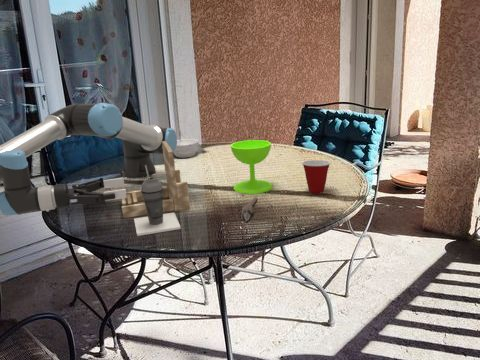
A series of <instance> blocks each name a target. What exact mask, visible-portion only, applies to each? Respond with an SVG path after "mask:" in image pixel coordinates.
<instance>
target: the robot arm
mask: <svg viewBox="0 0 480 360" xmlns="http://www.w3.org/2000/svg"><path fill="white" fill-rule="evenodd" d="M122 115H123V114H122V113H121V111H120V109H119V108H118V107H117V106H116V105H114V104H113V103H111V104H110V103H108V102H107V103H106V102H100V103H72V104H70V105H67V106H65V107H63V108H60V109H58V110H56V111H54V112H52V113H50V114H48V115H47V116H45V118H44V120H43V121H42V122H40V123H38V124H37V125H35V126H33V127H31V128H29V129H28V130H26V131H23V132H22V133H21V134H18V135H17V136H14V137H12V139H10V140H8V141H6V142H4V143H2V144H0V182H2V184H3V188H4V190H3V191H1V192H0V212H1V214H2V215H4V216H7V217H8V216H16V215H17V216H19V215H25V214H30V213H37V212H44V211H46V212H47V213H48V212H50V211H51V210H56V208H57V209H59V210H60V209H65V208H69V207H70V206H74V205H105V204H106V202H107V201H115V200H121V199H123V198H127V196H126V192H127V191H126V190H127V189H126V188H123V189H116V190H108V191H103V192H95V191H98V190H102V189H103V188H104V189H111V188H119V187H124V186H125V179H124V178H125V177H127V178H126V179H142V178H148V176H147V172H146V168H145V165H146V166H147V170H148V174H149V177H150V176H154V175H155V174H156V173H157V172H156V167H155V164H154V162H153V160H152V158H151V155H150V154H153V155H154V154H158V155H163V148H162V141H166V142H167V144H168V145H169V146H170V148H171V149H172V151H173V152H174V151H175V149H176V145H177V140H178V136H177V132H176V131H175V129H174V128H172V127H161V126H159V125H156V124H148V125H147V124H146V123H141V122H138V121H136V120H133V119H130V118H128V117H126V116H125V117H124V116H122ZM70 136H95V137H99V138H103V139H106V140H112V139H113V140H114V139H115V138H117V139H120V140H121V143H122V150H123V155H124V156H123V158H124V162H123V168H122V176H123V177H118V178H110V179H104V178H103V177H100V178H97V179H94V180H89V181H86V182H82V183H78V184H73V185H71V188H69V187H68V184H67V183H58V184H55V185H51V184H50V185H49V184H48V185H43V186H37V187H33V185H32V181H31V175H30V174H31V173H30V169H29V162H28V161H27V158H28V157H30V156H31V155H33V154H35V153H36V152H38V151H40V150H41V149H43V148H45V147H46V146H48V145H49V144H51V143H52V142H55V141H58V140H59V141H60V140H63V139H65V138H67V137H70Z"/></svg>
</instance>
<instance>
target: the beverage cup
mask: <svg viewBox="0 0 480 360" xmlns="http://www.w3.org/2000/svg"><path fill="white" fill-rule="evenodd" d="M145 168H146V172H147V176H148V177H147V178H146V179H145V180H144V181H142V183H141V187H140V190H141V192H142V196H143V198H144V201H143V203H145V206H146V211H147V215H146V216H147V217H148V220H149V223H150V224H151V225H158V224H161V223H163V214H164V212H163V200H164V198H162V195H163V187H164V186H163V184H162V182H161V181H160V180H159V179H157V178H156V177H150V176H149V174H148V170H147V166H146V165H145Z"/></svg>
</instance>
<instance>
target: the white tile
mask: <svg viewBox="0 0 480 360" xmlns="http://www.w3.org/2000/svg"><path fill="white" fill-rule="evenodd" d="M133 220H134V221H133V222H134V226H135V232H136V237H140V236H145V235H151V234H157V233H159V234H160V233H163V232H165V233H166V232H170V231H175V230H176V231H177V230H181V229H182V228H181V225H180V223H179V220H178V217H177V215H176V213H175V212H170V213H168V212H167V213H163V223H161V224H158V225H151V224H150V223H149V220H148V216H143V217H137V218H135V217H134V218H133Z"/></svg>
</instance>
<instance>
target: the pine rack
mask: <svg viewBox="0 0 480 360" xmlns="http://www.w3.org/2000/svg"><path fill="white" fill-rule="evenodd" d="M162 148H163V154H162V155H163V165H164V172H165V173H164V175H165V182H166V186H162V187H163V195H162V199H163V213H166V212H167V213H168V212H172V211H174V212H181V211H187V210H190V209H191V206H190V205H191V204H190V194H189V186H188V185H189V183H188V181H182V179H181V171H180V169H176V166H175V157H174V155H175V154H174V153H173V151H172V149H171V148H170V146H169V145H168V144H167V142H166V141H162ZM132 192H135V194H136V198H137V203H138V202H139V203H138V204H133V197H132ZM129 194H130V197H131V202H132V205H128V200H127V198H125V201H126V206H123V204H122V199H120V203H121V211H122V217H123V218H122V219H127V218H133V217H134V218H135V217H139V216H148V215H147V211H146V206H145V202H144V198H143V196H142V192H141V189H140V190H134V191H126V196H127V195H129ZM165 198H166V199H165ZM167 198H169V199H167ZM140 202H141V203H140ZM142 202H143V203H142Z"/></svg>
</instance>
